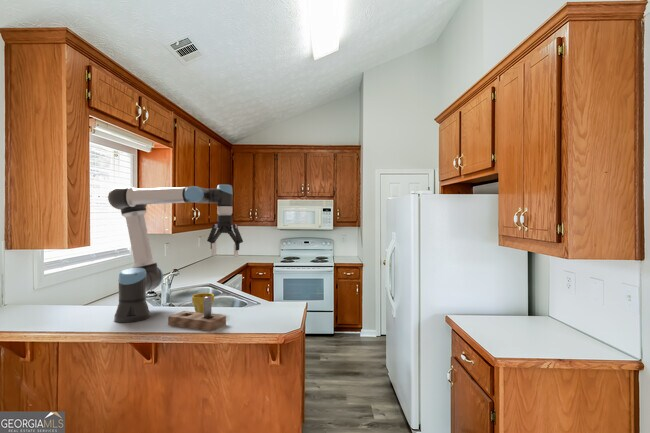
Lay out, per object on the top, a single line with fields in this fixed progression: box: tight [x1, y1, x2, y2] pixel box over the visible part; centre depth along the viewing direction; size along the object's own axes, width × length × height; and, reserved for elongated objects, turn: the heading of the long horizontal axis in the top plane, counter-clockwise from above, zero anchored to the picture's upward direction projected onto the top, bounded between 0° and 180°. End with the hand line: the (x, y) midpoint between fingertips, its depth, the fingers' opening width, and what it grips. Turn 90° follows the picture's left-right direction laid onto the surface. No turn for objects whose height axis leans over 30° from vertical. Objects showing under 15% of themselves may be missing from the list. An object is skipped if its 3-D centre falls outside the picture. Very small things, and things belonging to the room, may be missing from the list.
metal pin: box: [204, 296, 213, 319], centre depth 166 cm, size 3×3×12 cm
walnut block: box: [167, 310, 227, 332], centre depth 168 cm, size 24×10×4 cm, turn 69°
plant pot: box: [191, 292, 215, 313], centre depth 185 cm, size 10×10×10 cm
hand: (224, 256), depth 190 cm, fingers open, 13 cm apart
